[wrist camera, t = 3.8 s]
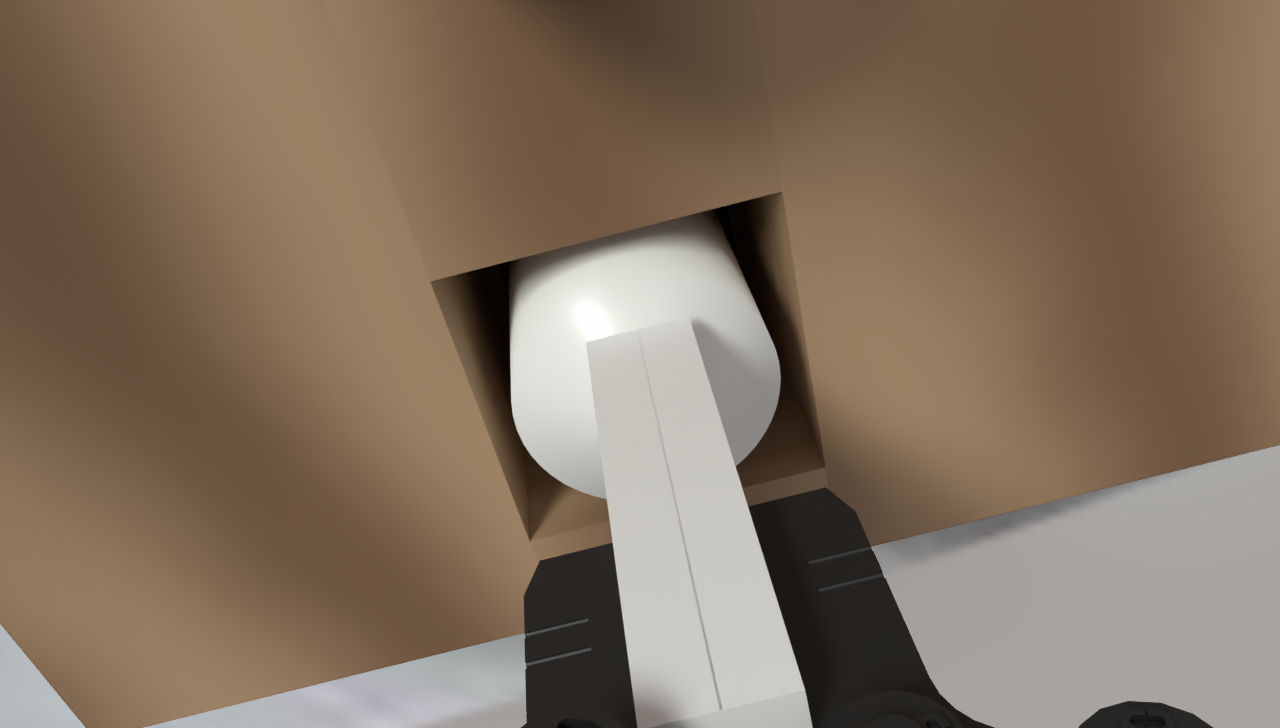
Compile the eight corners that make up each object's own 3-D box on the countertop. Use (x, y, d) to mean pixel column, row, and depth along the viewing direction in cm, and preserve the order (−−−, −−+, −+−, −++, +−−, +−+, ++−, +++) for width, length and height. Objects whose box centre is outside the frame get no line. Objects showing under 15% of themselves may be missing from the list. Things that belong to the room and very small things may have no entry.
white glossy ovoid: (539, 335, 21) (552, 527, 16) (481, 158, 19) (476, 315, 14) (726, 288, 21) (797, 466, 16) (689, 104, 19) (758, 244, 14)
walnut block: (193, 488, 24) (95, 739, 18) (-393, -479, 14) (-1015, -612, 8) (1114, 255, 24) (1319, 435, 18) (1159, -906, 14) (1648, -1366, 8)
